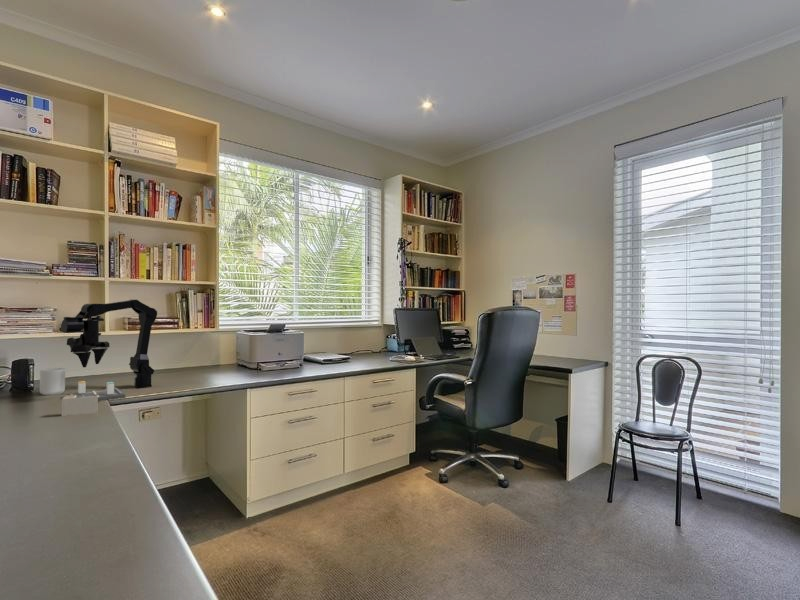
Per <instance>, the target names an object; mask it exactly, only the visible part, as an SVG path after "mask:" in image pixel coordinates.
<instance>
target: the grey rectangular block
mask: <svg viewBox="0 0 800 600" xmlns="http://www.w3.org/2000/svg"><path fill="white" fill-rule="evenodd" d="M86 383H87V382H86V381H85V380H82V381H77V392H78V393H79V394H80V393H86V391H87V390H86V388H87V387H86V385H87V384H86Z"/></svg>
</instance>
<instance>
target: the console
mask: <svg viewBox="0 0 800 600" xmlns="http://www.w3.org/2000/svg"><path fill="white" fill-rule="evenodd" d="M97 393H99V394H98V395H97V396H98V402H102V401H101V400H103V401H108V400H107V399H111V400H115V399H116V400H117V399H125V398H126V394H125V393H124V392H123V391H122V390H121V389H119V387H115V386H114V394H108V395H107V394H106V388H105V389H95V390H88V391H87V390H86V393H80V394H79V393H78V391H77V392H72V391H69V392H68V393H65V396H68V395H76V398H80V397H93V396H94V395H96V394H97Z"/></svg>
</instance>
